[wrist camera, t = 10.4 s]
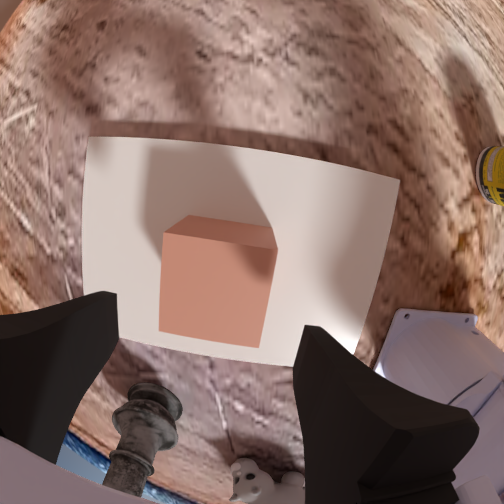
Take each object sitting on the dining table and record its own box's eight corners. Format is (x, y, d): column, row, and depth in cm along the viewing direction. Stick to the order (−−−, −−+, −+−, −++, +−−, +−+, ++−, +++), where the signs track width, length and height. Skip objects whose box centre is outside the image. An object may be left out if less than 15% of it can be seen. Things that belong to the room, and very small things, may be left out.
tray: (390, 178, 18) (400, 180, 17) (342, 358, 22) (347, 369, 20) (99, 138, 17) (88, 136, 16) (95, 319, 21) (87, 328, 20)
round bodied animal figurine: (272, 428, 27) (253, 475, 19) (329, 491, 25) (325, 540, 17) (222, 451, 29) (193, 493, 20) (280, 509, 27) (266, 554, 18)
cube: (272, 227, 18) (278, 250, 13) (258, 304, 19) (258, 348, 14) (188, 214, 17) (163, 232, 13) (181, 291, 19) (158, 331, 14)
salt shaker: (121, 373, 23) (63, 476, 11) (185, 387, 23) (150, 507, 11) (129, 416, 24) (88, 510, 13) (186, 429, 24) (161, 533, 13)
